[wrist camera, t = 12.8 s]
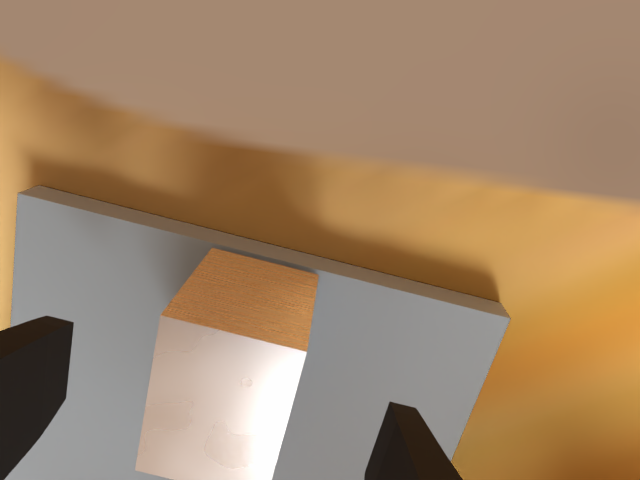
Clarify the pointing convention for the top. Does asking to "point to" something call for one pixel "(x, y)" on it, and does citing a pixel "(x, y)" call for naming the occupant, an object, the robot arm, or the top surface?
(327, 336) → the board
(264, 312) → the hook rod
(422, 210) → the top surface
